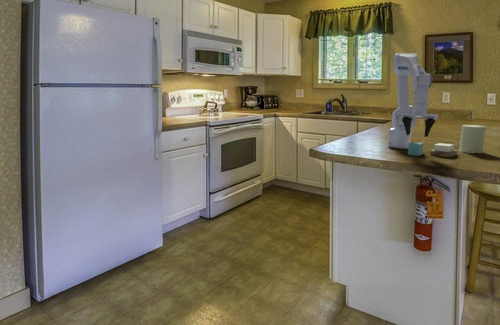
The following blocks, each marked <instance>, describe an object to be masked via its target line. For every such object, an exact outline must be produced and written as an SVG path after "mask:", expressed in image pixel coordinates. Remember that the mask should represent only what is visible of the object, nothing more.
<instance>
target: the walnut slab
mask: <svg viewBox="0 0 500 325" xmlns="http://www.w3.org/2000/svg"><path fill="white" fill-rule="evenodd" d="M457 154H458V150H457V149H454V150H453V151H451V152H443V151H434V149H432V150H430V152H429V155H430V156H433V155H434V157H440V158H441V157H444V158H449V157H451V158H453V157H455V156H457Z"/></svg>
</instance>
